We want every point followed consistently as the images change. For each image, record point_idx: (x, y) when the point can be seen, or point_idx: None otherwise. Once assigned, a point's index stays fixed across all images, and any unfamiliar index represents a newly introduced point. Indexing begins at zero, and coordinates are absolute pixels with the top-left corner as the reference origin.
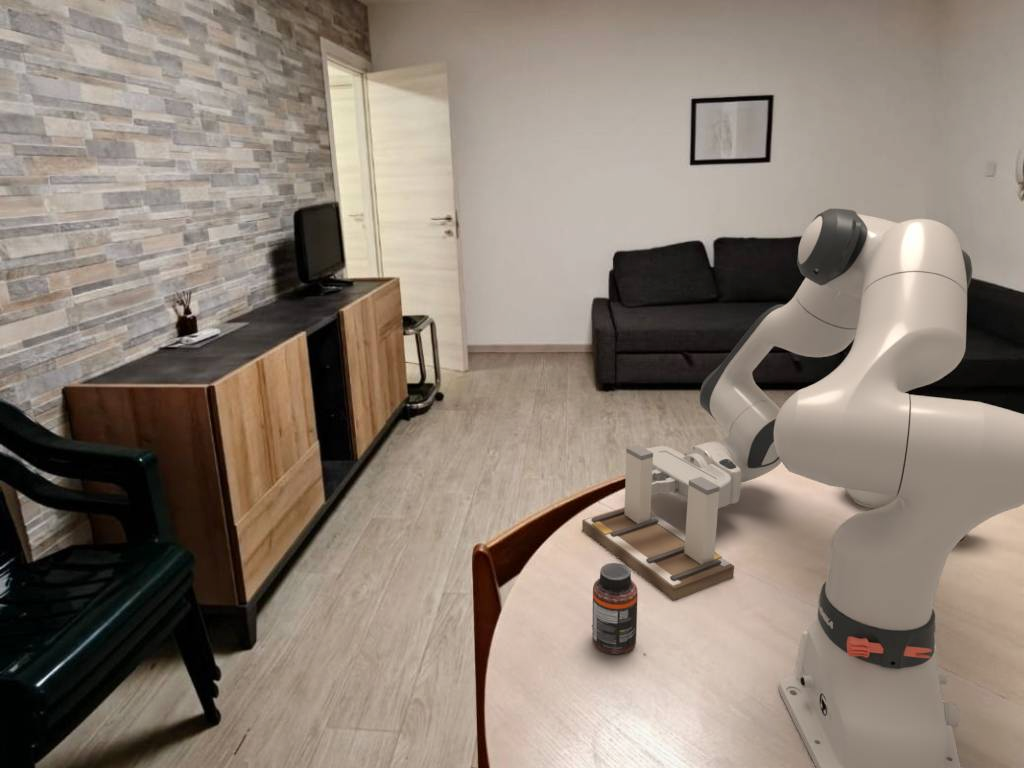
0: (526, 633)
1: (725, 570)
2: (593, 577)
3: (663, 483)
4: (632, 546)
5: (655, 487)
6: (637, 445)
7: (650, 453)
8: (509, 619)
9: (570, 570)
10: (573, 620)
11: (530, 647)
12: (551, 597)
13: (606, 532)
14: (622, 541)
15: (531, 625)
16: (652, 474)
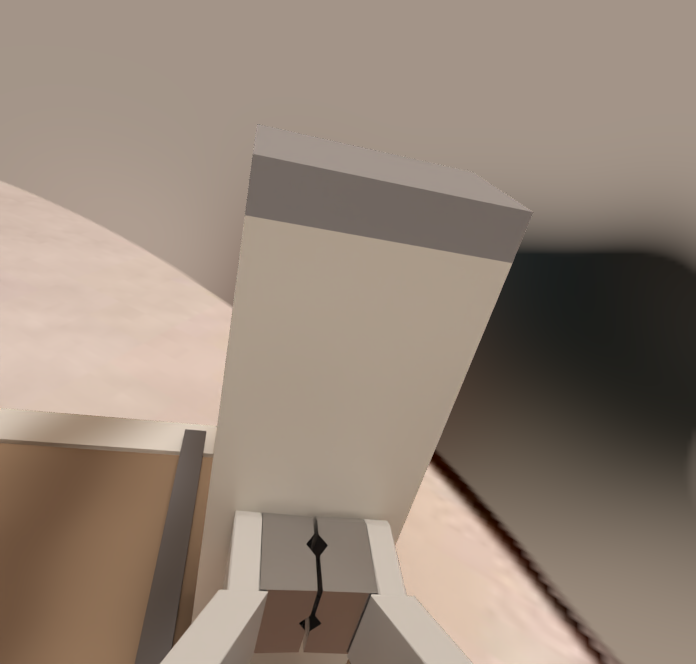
0: (67, 234)
1: None
2: (98, 360)
3: (184, 644)
4: (71, 453)
5: (225, 589)
6: (516, 205)
7: (257, 147)
8: (124, 241)
9: (174, 347)
10: (12, 270)
11: (31, 223)
12: (117, 287)
13: None
14: (130, 441)
15: (77, 244)
16: (418, 656)
